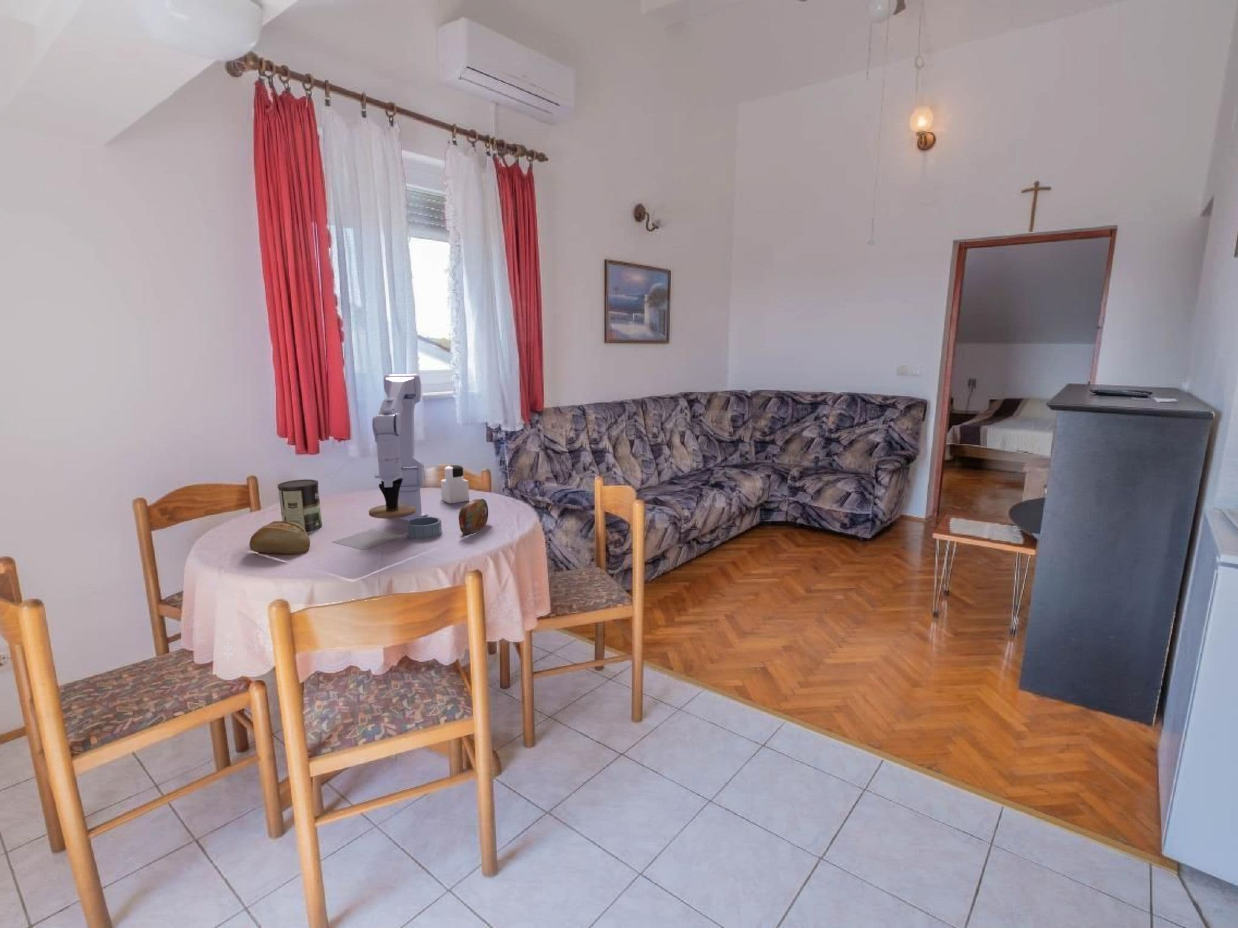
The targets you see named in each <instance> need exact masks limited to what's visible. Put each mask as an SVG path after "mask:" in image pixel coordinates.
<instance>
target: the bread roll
mask: <svg viewBox="0 0 1238 928" xmlns="http://www.w3.org/2000/svg"><path fill="white" fill-rule="evenodd" d="M249 548H250V550H251V551H252V552H254V553H268V554H284V555H299V554H303V553H305V552H307V551H309V549H310V548H311V540H310V537H309V535H308V533H306V531H305V529H304V528H303V527H302V526H301V525H299V524H298V523H295V522H291V521H282V520H278V521H272V522H269V523H268V524H267V525H263V526H262V527H261V528H259V529H258V530H257V531H255V532H254V533H253V534H252V535H251V537H250V540H249Z"/></svg>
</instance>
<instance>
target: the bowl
mask: <svg viewBox="0 0 1238 928" xmlns="http://www.w3.org/2000/svg"><path fill="white" fill-rule="evenodd" d="M442 530H443V529H442V519H440V518H439V517H436V516H424V517H420V518H414V519H411V520H407V521H406V534H407V537H408V538H412V539H417V540H418V539H419V540H420V539H422V540H423V539H430V538H434V537H437V536H440V535H441V533H443V532H442Z"/></svg>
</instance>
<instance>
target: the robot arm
mask: <svg viewBox="0 0 1238 928" xmlns="http://www.w3.org/2000/svg"><path fill="white" fill-rule="evenodd" d="M383 389H384V392H385V394H386V396H387V398H386V399H385V398H384V400H383V401H382V402H381V405H380V408H379V411H378V414H376V416H373V417H372V423H371V424H372V425H371V428H372V432H373V437H374V442H375V443H376V450H377V452H376V453H377V461H378V462H377V465H378V473H377V474H374V479H380V483H379V484H378V489H379V490H380V491H381V493H382V495H383V497H384V499H385V501H384V502H385V505H387V507H388V509H396V507H397V499H398V504H407V505H411V506H414V507H415V513H413V514H412V515H409V516H405V517H400V518H397V519H400V520H404V521H409V520H411V519H414V518H420V517H428V516H429V513H427V512H422V499H421V497H422V496H421V488H423V487H424V486H425V483H426V482H425V481H426V474H425V468H424V467H425V466H424V463H423V462H422V461H421V460H419V459H418V458H417V457H415V407H416V404H418V403H419V402H421V398H422V396H421V395H422V390H421V389H422V384H421V378H420V375H419V374H418V373H411V374H410V373H406V374H405V373H402V374H400V373H399V374H397V373H395V374H390V373H386V374H385V375H384V377H383Z"/></svg>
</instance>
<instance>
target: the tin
mask: <svg viewBox="0 0 1238 928" xmlns="http://www.w3.org/2000/svg"><path fill="white" fill-rule="evenodd" d="M458 513H459V514H458V522H459V524H458V525H459V531H460V532H461V533H462V534H464V535H474V534H476V533H478V531H480V530H481V529H483V528H484V527H485V526H486V524H487V522H488V519H489V507H488V503H487V501H486V500H485V499H484V498H476V499H473V500H471V501H470V502H469V501H468V503H466V504H464V505H463V506H462V507H461V508H460V510H459V512H458Z"/></svg>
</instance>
